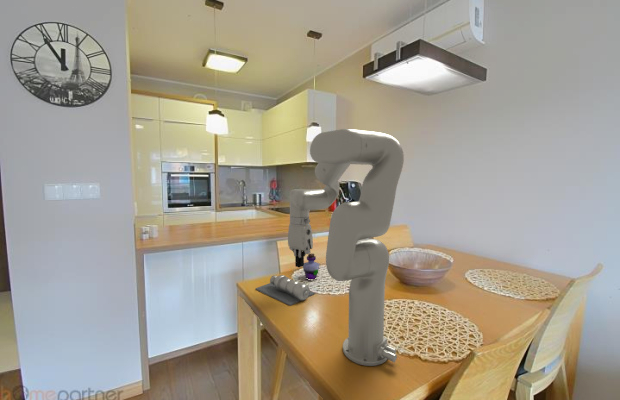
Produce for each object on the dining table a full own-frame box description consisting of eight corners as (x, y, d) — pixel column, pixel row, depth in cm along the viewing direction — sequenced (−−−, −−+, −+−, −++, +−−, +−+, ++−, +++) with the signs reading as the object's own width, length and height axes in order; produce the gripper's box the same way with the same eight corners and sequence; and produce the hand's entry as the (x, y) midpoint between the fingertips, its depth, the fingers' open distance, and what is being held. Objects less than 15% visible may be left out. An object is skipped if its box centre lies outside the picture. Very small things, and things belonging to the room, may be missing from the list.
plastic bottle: (305, 305, 104) (271, 290, 118) (314, 290, 108) (281, 277, 121) (297, 296, 101) (264, 281, 114) (307, 281, 104) (274, 269, 118)
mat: (314, 294, 112) (314, 292, 112) (290, 305, 101) (290, 304, 101) (280, 280, 127) (280, 279, 126) (255, 289, 116) (255, 288, 116)
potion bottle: (314, 283, 123) (314, 257, 122) (298, 279, 128) (298, 254, 127) (323, 277, 131) (323, 253, 130) (308, 274, 135) (308, 250, 134)
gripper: (320, 221, 103) (320, 268, 104) (293, 217, 113) (293, 260, 115) (306, 224, 97) (306, 273, 99) (279, 219, 108) (280, 264, 109)
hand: (299, 266), depth 107 cm, fingers closed
